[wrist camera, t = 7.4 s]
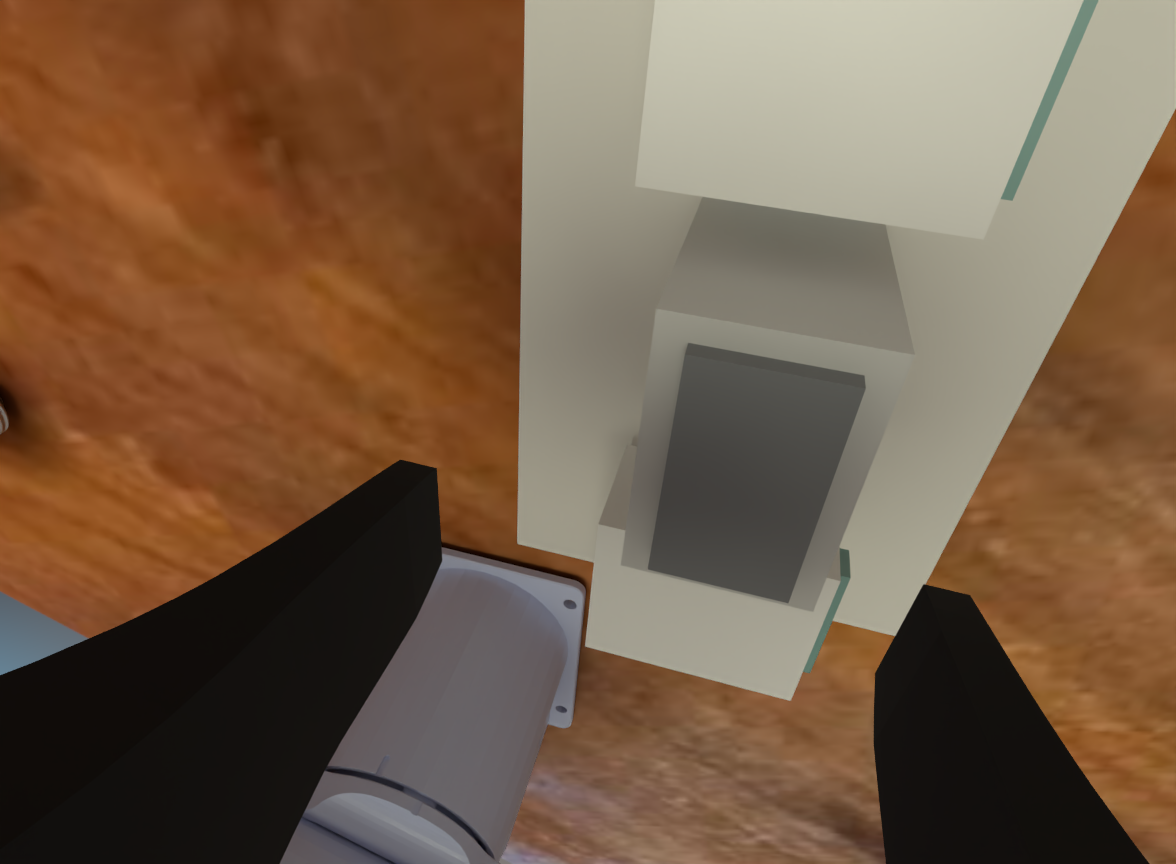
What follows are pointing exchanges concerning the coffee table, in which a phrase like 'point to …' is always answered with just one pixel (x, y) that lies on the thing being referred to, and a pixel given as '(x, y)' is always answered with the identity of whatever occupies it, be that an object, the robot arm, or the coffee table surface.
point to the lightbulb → (3, 418)
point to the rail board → (922, 261)
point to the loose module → (765, 399)
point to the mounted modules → (826, 187)
